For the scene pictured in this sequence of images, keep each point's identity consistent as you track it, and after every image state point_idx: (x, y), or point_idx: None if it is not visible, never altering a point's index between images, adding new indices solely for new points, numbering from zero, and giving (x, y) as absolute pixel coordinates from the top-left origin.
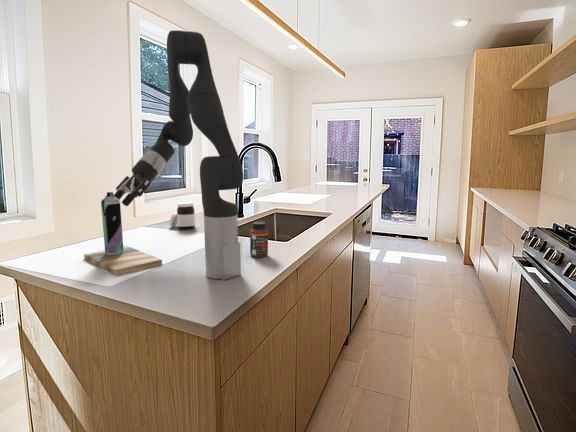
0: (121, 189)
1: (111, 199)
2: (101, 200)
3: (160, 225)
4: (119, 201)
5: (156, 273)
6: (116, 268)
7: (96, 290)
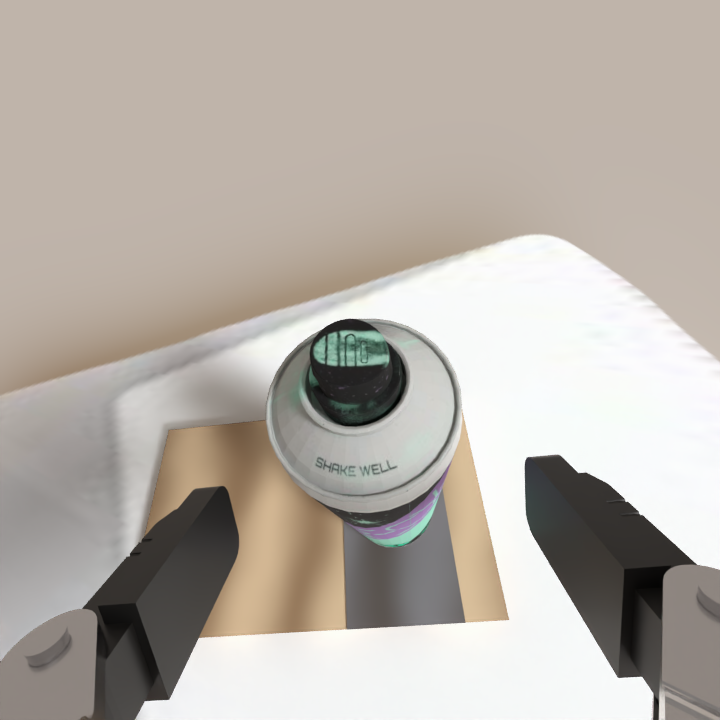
0: (663, 675)
1: (282, 384)
2: (369, 320)
3: None
4: (310, 491)
5: (73, 553)
6: (184, 437)
7: (123, 364)
